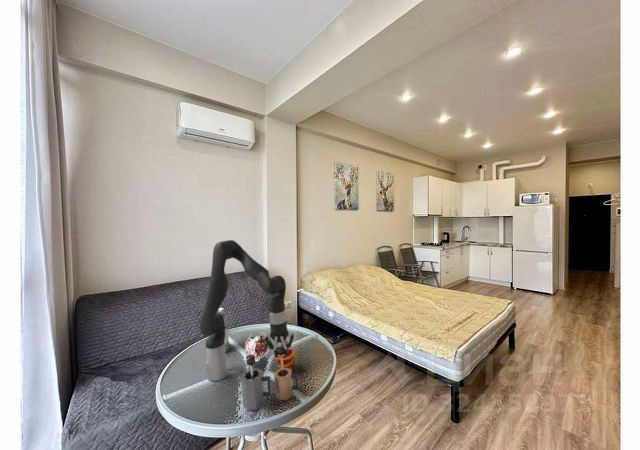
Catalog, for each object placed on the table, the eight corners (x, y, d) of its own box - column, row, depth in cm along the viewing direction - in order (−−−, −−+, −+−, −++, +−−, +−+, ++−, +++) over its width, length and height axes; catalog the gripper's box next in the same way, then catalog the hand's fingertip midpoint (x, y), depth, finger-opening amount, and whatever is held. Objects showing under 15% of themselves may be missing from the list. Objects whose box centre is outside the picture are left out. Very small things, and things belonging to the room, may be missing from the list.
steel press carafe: (241, 411, 110) (238, 382, 109) (247, 396, 119) (244, 369, 118) (270, 408, 110) (267, 379, 109) (273, 394, 119) (271, 367, 118)
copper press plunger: (279, 382, 117) (276, 350, 116) (280, 377, 120) (277, 346, 119) (286, 381, 117) (283, 349, 116) (287, 376, 120) (284, 345, 119)
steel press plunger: (248, 400, 113) (244, 359, 112) (251, 394, 116) (247, 355, 115) (257, 400, 113) (253, 359, 112) (259, 393, 116) (255, 354, 115)
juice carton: (214, 356, 156) (210, 313, 154) (214, 348, 166) (209, 308, 164) (229, 352, 159) (225, 310, 158) (228, 345, 169) (224, 305, 168)
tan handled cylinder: (275, 400, 115) (273, 379, 114) (278, 388, 122) (276, 368, 122) (298, 398, 115) (296, 377, 114) (299, 387, 122) (297, 366, 122)
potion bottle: (293, 376, 130) (291, 348, 130) (274, 375, 133) (272, 347, 132) (299, 364, 141) (297, 338, 140) (281, 363, 143) (279, 337, 142)
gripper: (260, 325, 113) (264, 362, 114) (292, 322, 113) (296, 360, 114) (264, 318, 121) (267, 353, 121) (294, 315, 121) (297, 350, 121)
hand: (281, 356), depth 118 cm, fingers closed on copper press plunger, 3 cm apart
